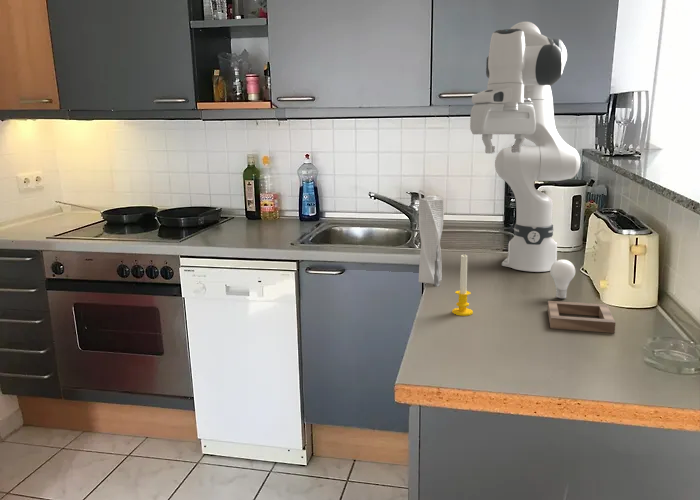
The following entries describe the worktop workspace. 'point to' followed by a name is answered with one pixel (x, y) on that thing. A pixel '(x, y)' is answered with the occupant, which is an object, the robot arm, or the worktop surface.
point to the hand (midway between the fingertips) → (503, 153)
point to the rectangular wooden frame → (578, 323)
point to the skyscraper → (430, 238)
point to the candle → (463, 291)
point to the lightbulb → (562, 276)
